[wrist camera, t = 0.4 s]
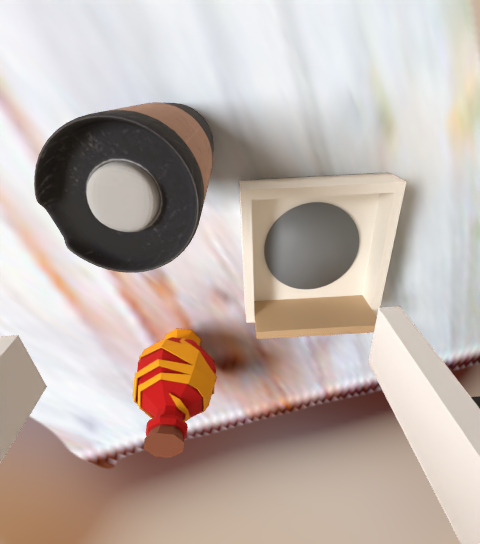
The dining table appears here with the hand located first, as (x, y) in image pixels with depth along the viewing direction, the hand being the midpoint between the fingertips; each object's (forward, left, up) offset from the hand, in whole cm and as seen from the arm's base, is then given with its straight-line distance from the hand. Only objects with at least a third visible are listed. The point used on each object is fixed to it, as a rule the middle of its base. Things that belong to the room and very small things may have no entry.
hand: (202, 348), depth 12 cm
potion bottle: (+22, -7, -26) cm, 34 cm away
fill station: (+8, +10, -25) cm, 28 cm away
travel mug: (-4, -4, -26) cm, 26 cm away
